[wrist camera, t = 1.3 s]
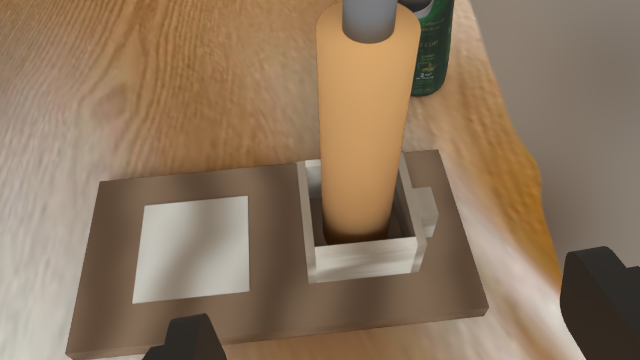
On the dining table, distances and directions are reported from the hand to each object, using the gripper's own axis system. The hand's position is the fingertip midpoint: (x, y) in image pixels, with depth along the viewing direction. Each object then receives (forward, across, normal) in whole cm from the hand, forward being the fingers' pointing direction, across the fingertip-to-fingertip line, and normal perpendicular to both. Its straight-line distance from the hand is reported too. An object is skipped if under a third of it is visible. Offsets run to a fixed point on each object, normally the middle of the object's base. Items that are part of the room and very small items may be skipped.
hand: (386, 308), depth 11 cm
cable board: (+22, +6, +16) cm, 28 cm away
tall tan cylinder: (+21, 0, +15) cm, 26 cm away
